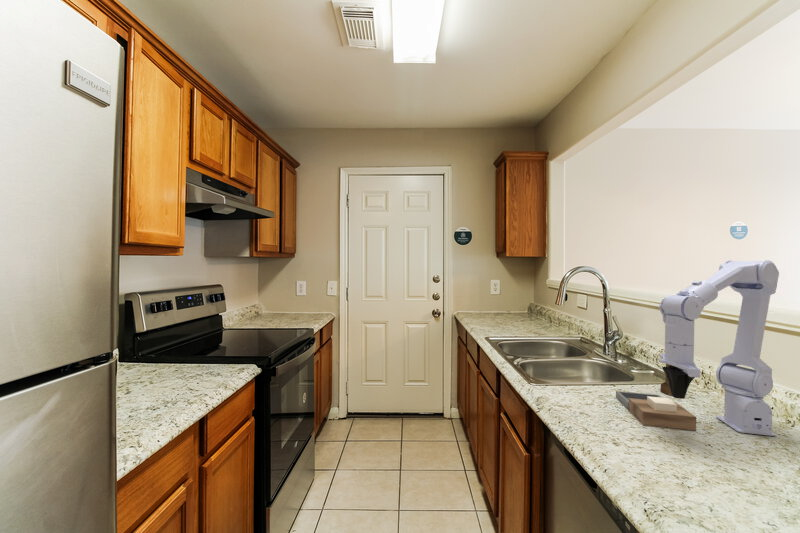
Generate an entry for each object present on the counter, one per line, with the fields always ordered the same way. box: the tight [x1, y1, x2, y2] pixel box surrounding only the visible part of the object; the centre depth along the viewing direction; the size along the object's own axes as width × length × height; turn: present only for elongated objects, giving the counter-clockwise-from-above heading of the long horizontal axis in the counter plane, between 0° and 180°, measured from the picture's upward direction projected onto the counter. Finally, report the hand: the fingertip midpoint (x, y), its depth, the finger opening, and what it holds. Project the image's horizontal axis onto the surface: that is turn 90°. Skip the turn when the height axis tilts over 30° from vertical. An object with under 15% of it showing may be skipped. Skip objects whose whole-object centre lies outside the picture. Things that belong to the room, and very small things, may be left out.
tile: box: [647, 396, 677, 412], centre depth 97 cm, size 5×5×2 cm
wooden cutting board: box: [628, 398, 697, 431], centre depth 97 cm, size 10×12×4 cm
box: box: [615, 390, 663, 410], centre depth 108 cm, size 10×12×2 cm
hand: (678, 397), depth 89 cm, fingers closed
